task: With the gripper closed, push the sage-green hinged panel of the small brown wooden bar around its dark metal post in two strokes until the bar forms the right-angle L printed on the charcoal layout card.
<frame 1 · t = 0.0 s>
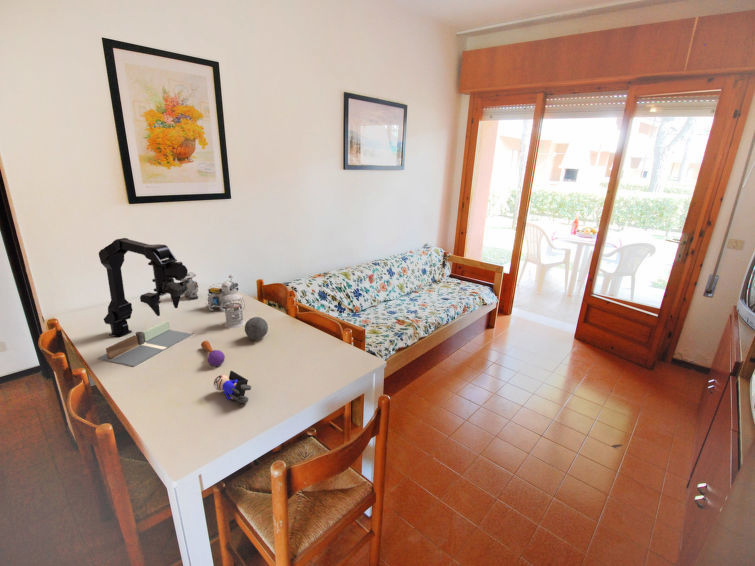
hand: (167, 311, 154), 15 cm above the table, tool pointing down, fingers open, 9 cm apart
layout card: (148, 345, 156), on the table
swing panel: (156, 330, 164), point 3 cm above the table, hinge at 0.0°
french press: (236, 323, 181), on the table
robotic toy: (223, 308, 200), on the table
kendama: (212, 357, 149), on the table
character figurine: (233, 397, 124), on the table
figurine: (187, 298, 212), on the table
decorative ball: (257, 338, 166), on the table
brown wooden bar: (126, 344, 150), on the layout card
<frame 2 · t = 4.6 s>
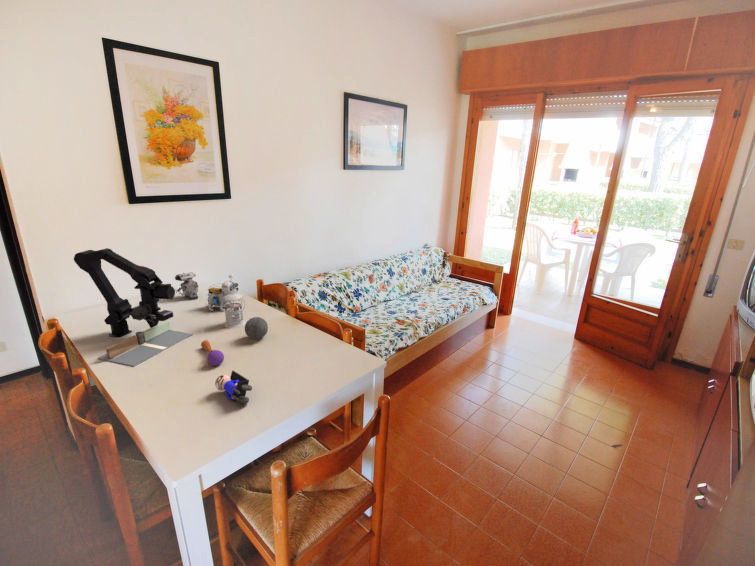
hand: (153, 330, 165), 2 cm above the table, tool pointing down, fingers closed
swing panel: (156, 330, 164), point 3 cm above the table, hinge at 0.5°, touching gripper
everything else where it was.
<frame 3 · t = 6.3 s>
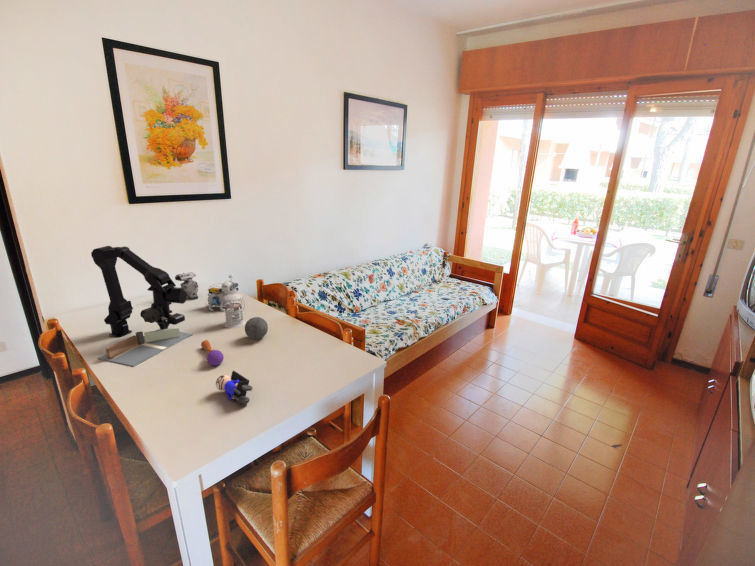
hand: (164, 333, 163), 2 cm above the table, tool pointing down, fingers closed
swing panel: (162, 334, 160), point 3 cm above the table, hinge at 41.4°, touching gripper
everything else where it was.
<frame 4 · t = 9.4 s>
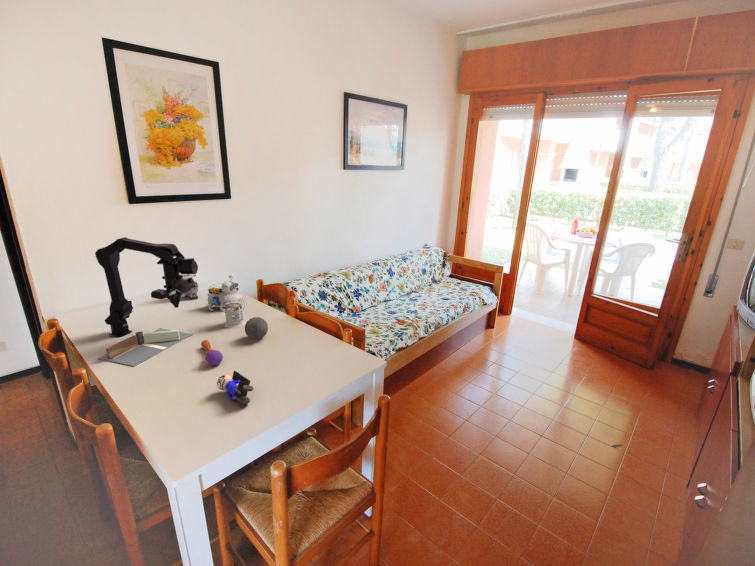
hand: (176, 307, 163), 13 cm above the table, tool pointing down, fingers closed
swing panel: (162, 336, 159), point 3 cm above the table, hinge at 54.9°
everything else where it was.
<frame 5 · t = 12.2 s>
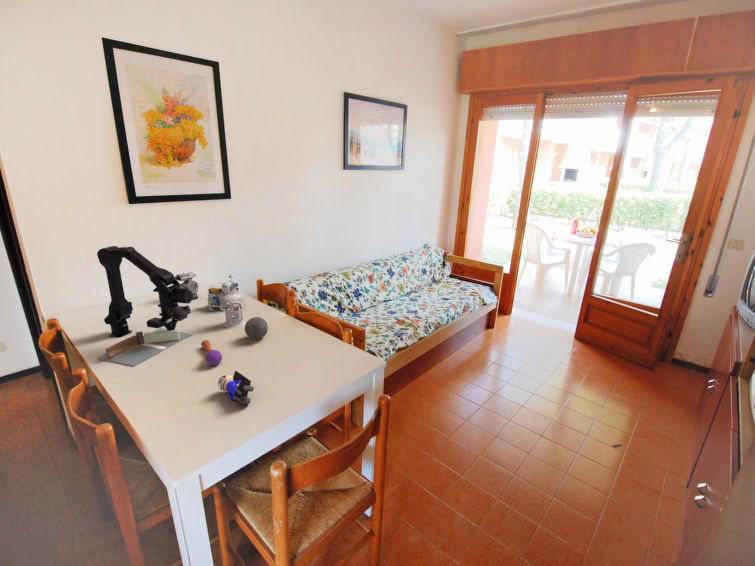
hand: (172, 334, 162), 2 cm above the table, tool pointing down, fingers closed
swing panel: (162, 336, 159), point 3 cm above the table, hinge at 55.3°, touching gripper
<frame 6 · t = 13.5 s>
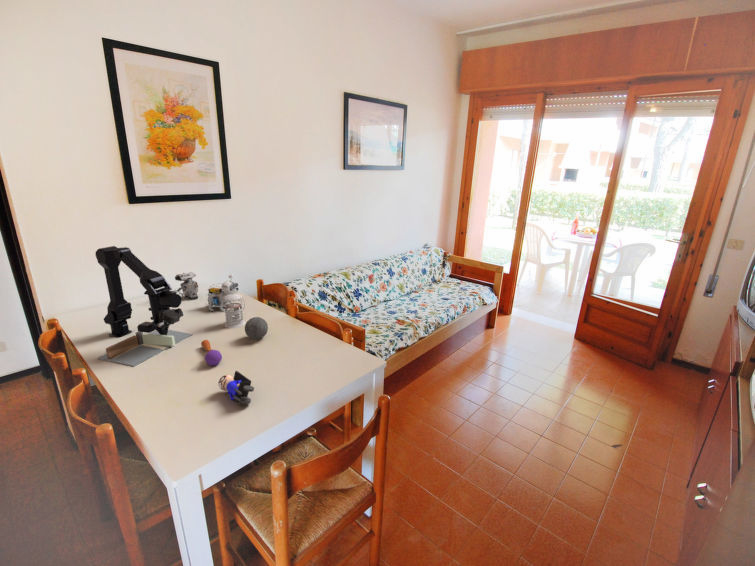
hand: (165, 338, 158), 2 cm above the table, tool pointing down, fingers closed
swing panel: (158, 339, 155), point 3 cm above the table, hinge at 78.5°, touching gripper
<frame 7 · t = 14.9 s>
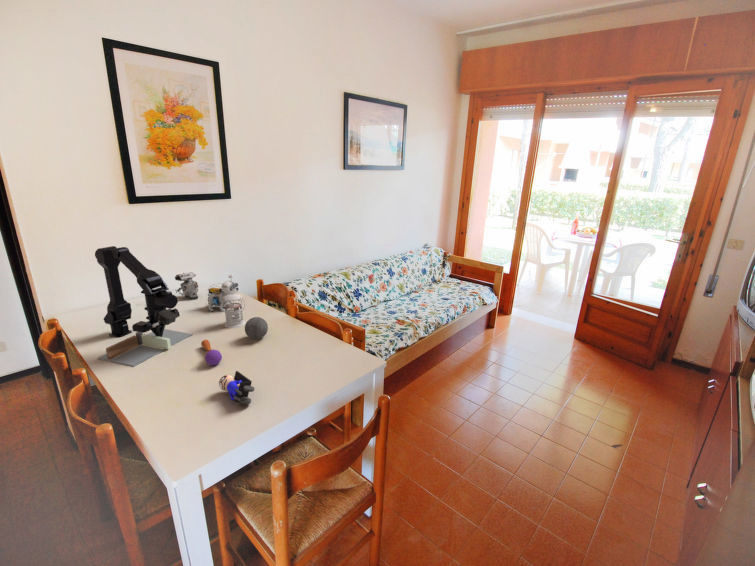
hand: (160, 338, 156), 3 cm above the table, tool pointing down, fingers closed
swing panel: (156, 341, 154), point 3 cm above the table, hinge at 88.9°
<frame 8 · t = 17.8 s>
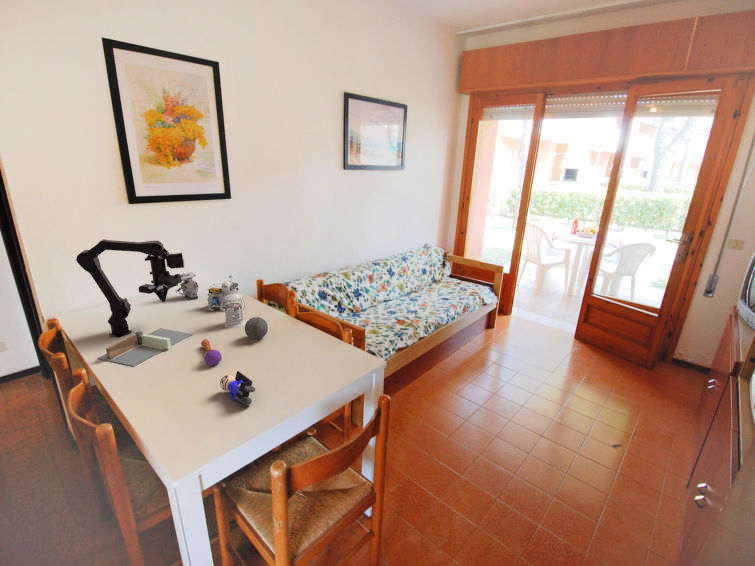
hand: (163, 302, 169), 13 cm above the table, tool pointing down, fingers closed
at the end: swing panel at +89° (first picture: +0°); the gripper is holding nothing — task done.
